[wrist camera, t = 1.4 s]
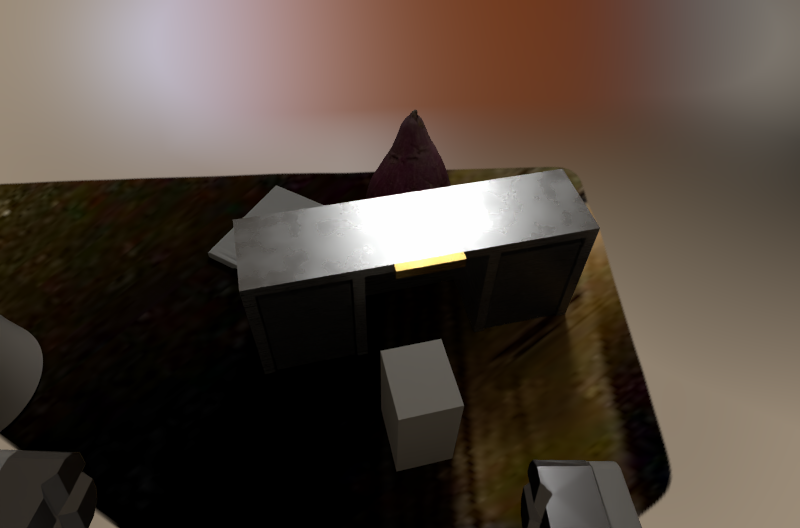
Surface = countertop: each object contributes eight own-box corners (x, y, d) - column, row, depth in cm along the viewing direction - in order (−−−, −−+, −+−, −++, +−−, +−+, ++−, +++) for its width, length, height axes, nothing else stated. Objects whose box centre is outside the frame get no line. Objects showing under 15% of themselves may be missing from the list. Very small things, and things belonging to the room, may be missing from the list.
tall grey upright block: (396, 471, 50) (398, 420, 43) (381, 408, 54) (380, 350, 46) (452, 458, 51) (464, 405, 44) (433, 397, 55) (441, 338, 47)
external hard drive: (332, 218, 71) (269, 289, 63) (276, 194, 73) (209, 260, 66) (331, 208, 69) (266, 279, 62) (275, 184, 72) (206, 250, 65)
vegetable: (379, 206, 76) (369, 91, 67) (459, 211, 73) (459, 92, 65) (355, 250, 67) (341, 124, 59) (445, 258, 65) (443, 128, 57)
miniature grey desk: (265, 381, 56) (239, 299, 46) (257, 307, 61) (232, 219, 51) (568, 320, 61) (604, 234, 51) (535, 257, 66) (562, 168, 56)
